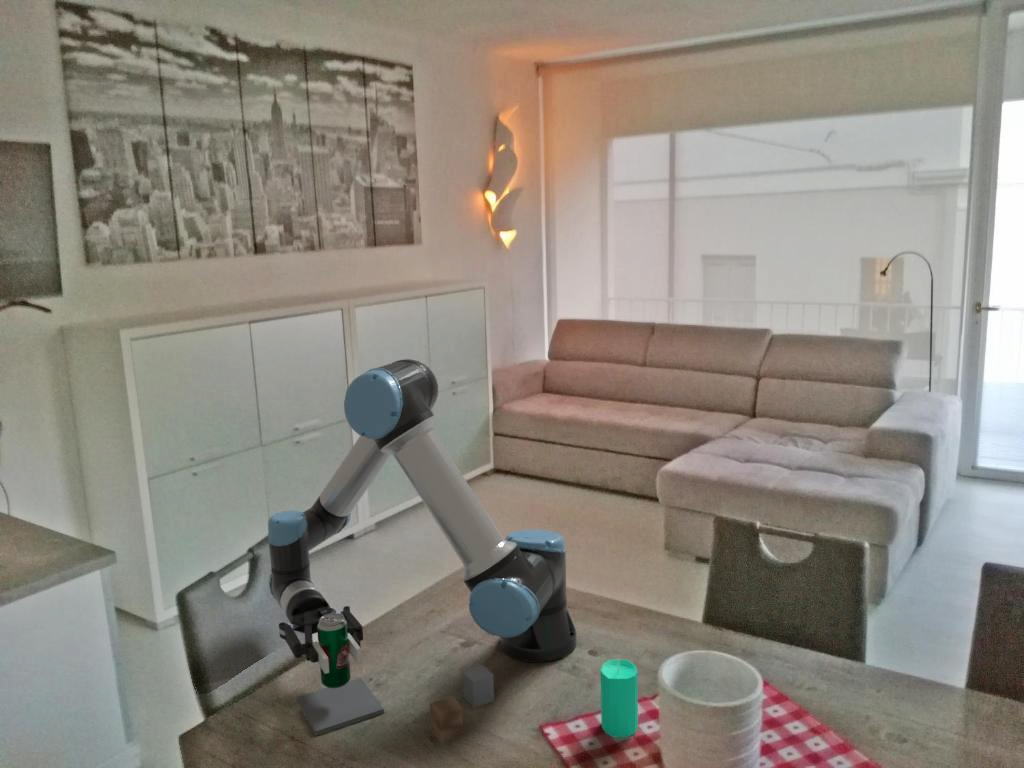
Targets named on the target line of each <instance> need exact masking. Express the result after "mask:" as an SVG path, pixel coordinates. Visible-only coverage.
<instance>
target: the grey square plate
mask: <svg viewBox="0 0 1024 768" xmlns="http://www.w3.org/2000/svg"><path fill="white" fill-rule="evenodd" d="M296 702H297V703H298V706H299V707H300V709H301V711H302V712H304V713H303V714H305V715H304V716H305V718H306V720H307V722H308V723H310V724H309V725H310V727H311V730H312V731H313V733H314V735H315V734H316V735H317V736H319V735H323V734H325V733H329V732H332V731H335V730H337V729H338V730H339V729H340V728H344V727H347V726H349V725H353V724H355V723H358V722H361V721H364V720H367V719H370V718H373V717H377V716H380V715H383V714H385V709H384V706H382V704H381V703H380V702H379V700H378V699H377V697H376V696H375V695H374V693H373V692H372V690H371V689H370V688H369V686H368V685H367V683H365V681H364V680H363V678H362V676H361V677H357V678H355V679H350V680H349V682H348V683H347V684H346V685H344V686H342V687H339V688H328V687H326V688H322V689H319V690H315V691H312V692H309V693H306V694H303V695H299V696H296ZM328 731H329V732H328ZM316 735H315V736H316Z"/></svg>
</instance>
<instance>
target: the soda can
mask: <svg viewBox="0 0 1024 768" xmlns="http://www.w3.org/2000/svg"><path fill="white" fill-rule="evenodd" d="M317 642H318V643H319V645H320V646H321V648H322V649H323V651H324V652H325V654H326V655H327V657H328V662H329V673H326V674H325V673H324V672H323V670H322V669H321V667H320V666H319V668H320V669H319V670H320V681H321V684H322V685H323V686H324V687H326V688H339V687H342V686H344V685H346V684H347V683H348V682H349V681H351V677H352V676H351V675H352V674H351V660H350V653H349V645H348V631H347V621H346V620H345V619H344V616H343V615H342V614H339V613H331V614H327V615H324V616H322V617H321V618H320V619H319V623H318V625H317Z"/></svg>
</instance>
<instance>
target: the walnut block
mask: <svg viewBox="0 0 1024 768" xmlns="http://www.w3.org/2000/svg"><path fill="white" fill-rule="evenodd" d="M429 710H430V711H429V712H430V727H431V728H430V729H431V731H432V733H433V734H434V735H435V738H437V739H438V740H439V742H440V743H441V744H442V743H445V742H448V741H451V740H454V739H456V738H459V737H461V736H464V723H463V722H464V721H463V707H462V706H461V705H460V704H459V702H458V701H457V700H456V698H454V697H453V696H452V695H450V696H448V697H445V698H441V699H439V700H436V701H433V702H430V703H429Z"/></svg>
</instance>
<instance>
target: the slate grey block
mask: <svg viewBox="0 0 1024 768" xmlns="http://www.w3.org/2000/svg"><path fill="white" fill-rule="evenodd" d="M462 679H463V680H462V681H463V698H465V700H466V701H467V702H468V703H469V704H470V705H471V707H473V708H474V709H476V708H477V707H480V706H484V705H486V704H489V703H492V702H495V685H494V683H495V682H494V674H493V673H492V672H490V670H489V669H488V668H487V667H485V666H484V665H483V664H481V665H478V666H476V667H472V668H470V669H467V670H463V671H462Z"/></svg>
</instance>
